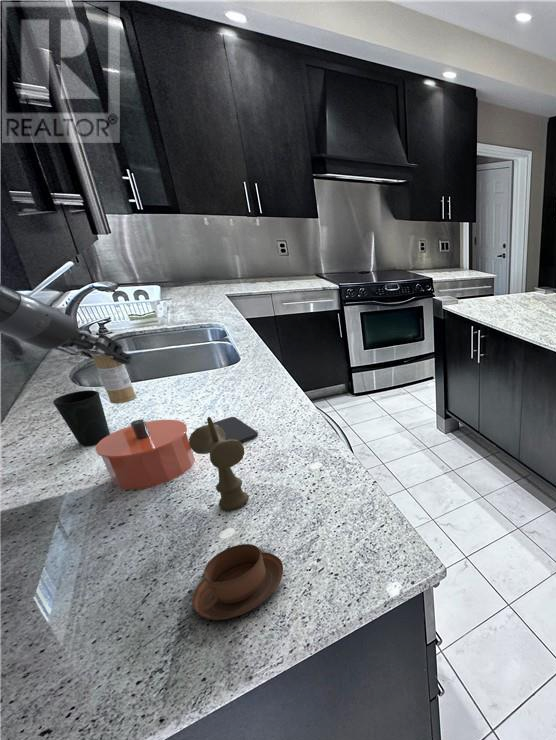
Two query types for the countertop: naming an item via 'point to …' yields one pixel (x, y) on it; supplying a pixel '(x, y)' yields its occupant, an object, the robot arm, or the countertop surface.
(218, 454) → the kendama
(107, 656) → the countertop surface
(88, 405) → the cup
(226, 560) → the cup and saucer
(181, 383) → the countertop surface
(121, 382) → the sprinkles bottle
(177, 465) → the pot
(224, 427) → the phone
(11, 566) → the countertop surface
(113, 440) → the pot lid
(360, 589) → the countertop surface
